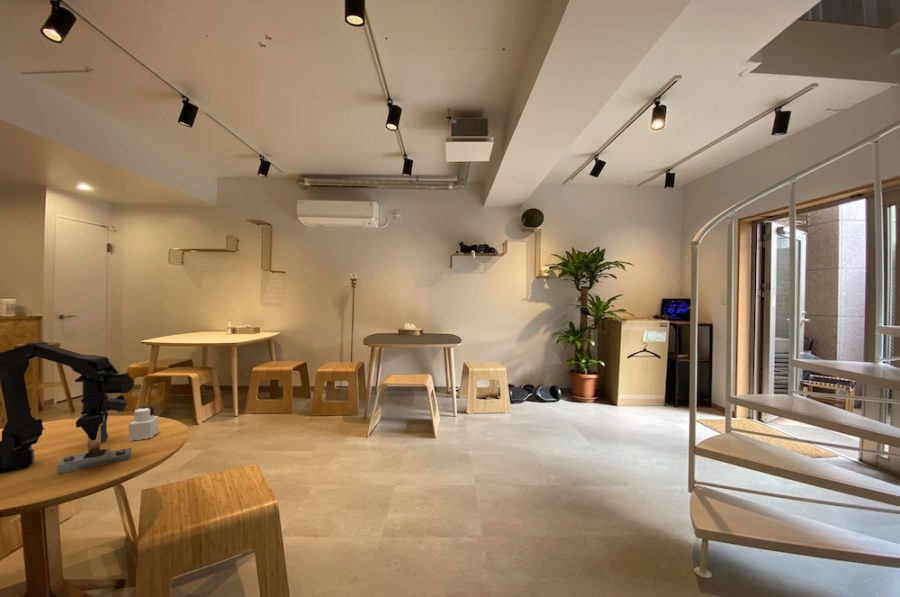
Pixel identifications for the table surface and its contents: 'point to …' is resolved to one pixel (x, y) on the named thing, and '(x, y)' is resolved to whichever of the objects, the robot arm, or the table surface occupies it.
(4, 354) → the robot arm
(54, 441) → the table surface
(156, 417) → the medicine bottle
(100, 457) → the slotted metal plate
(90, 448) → the pin
